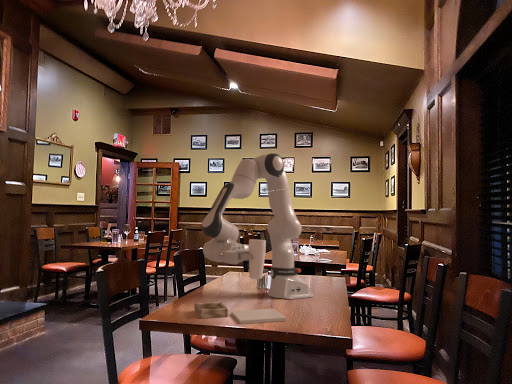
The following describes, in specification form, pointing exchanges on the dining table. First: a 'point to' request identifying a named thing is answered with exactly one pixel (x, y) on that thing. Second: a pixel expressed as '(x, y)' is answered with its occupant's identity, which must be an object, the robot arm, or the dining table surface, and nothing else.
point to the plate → (257, 316)
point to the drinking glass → (256, 258)
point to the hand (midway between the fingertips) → (258, 256)
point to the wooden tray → (210, 310)
